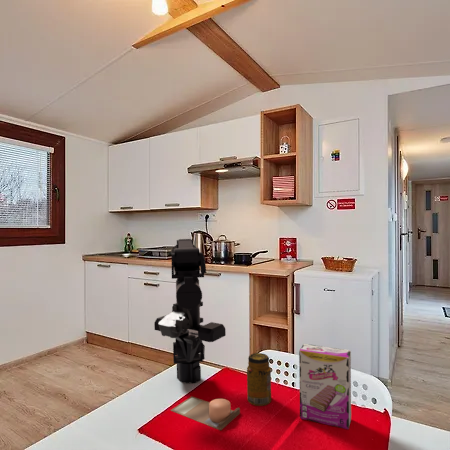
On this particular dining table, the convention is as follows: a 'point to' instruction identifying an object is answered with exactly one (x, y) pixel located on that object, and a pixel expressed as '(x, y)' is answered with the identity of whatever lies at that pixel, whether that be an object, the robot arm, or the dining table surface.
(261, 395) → the condiment
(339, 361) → the candy bar box
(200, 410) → the board
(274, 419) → the dining table surface
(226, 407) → the tan round cylinder
